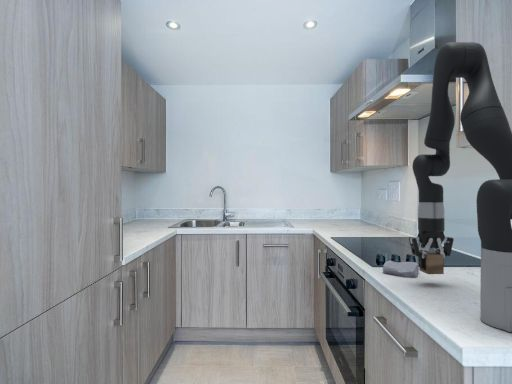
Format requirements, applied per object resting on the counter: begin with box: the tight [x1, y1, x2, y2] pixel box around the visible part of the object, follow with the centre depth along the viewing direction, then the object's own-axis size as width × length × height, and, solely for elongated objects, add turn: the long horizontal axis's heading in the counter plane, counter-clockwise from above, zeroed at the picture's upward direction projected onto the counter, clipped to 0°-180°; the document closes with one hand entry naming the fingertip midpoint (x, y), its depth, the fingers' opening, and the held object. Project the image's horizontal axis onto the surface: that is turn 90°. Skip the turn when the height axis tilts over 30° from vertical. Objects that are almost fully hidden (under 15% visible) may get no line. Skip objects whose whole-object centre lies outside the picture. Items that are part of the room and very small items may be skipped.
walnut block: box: [419, 251, 445, 275], centre depth 104 cm, size 5×5×6 cm
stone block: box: [382, 260, 420, 279], centre depth 119 cm, size 12×5×10 cm
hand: (431, 269), depth 104 cm, fingers closed on walnut block, 5 cm apart
